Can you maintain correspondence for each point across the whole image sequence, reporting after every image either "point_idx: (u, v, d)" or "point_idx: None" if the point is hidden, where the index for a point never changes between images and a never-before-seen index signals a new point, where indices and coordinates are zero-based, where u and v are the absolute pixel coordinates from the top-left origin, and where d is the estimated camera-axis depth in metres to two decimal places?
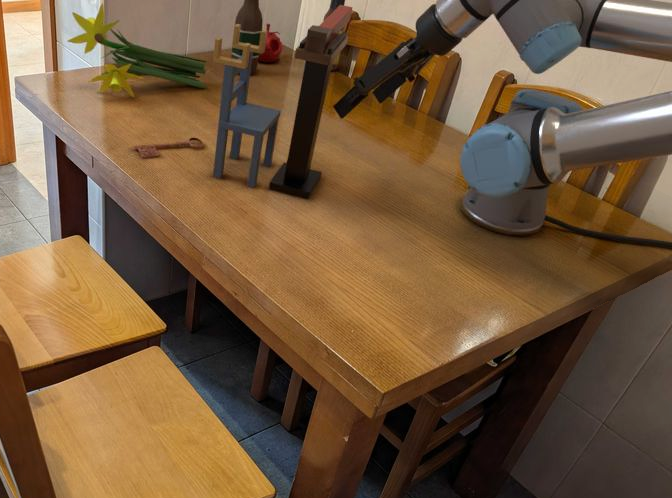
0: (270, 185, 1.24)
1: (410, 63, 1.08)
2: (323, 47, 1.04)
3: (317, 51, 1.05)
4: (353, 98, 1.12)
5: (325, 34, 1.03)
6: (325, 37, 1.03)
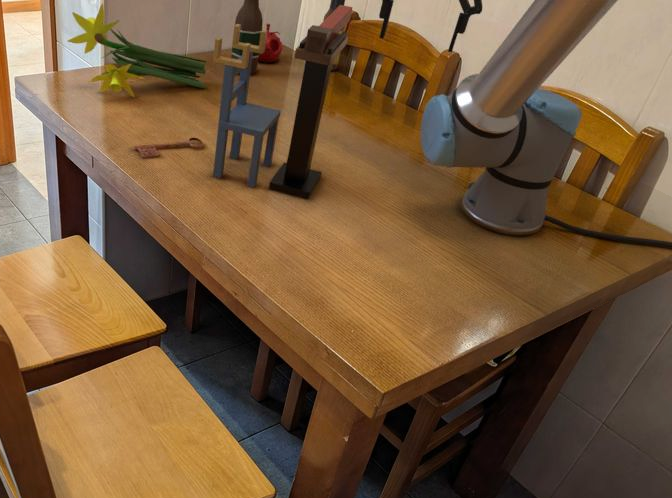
0: (270, 185, 1.24)
1: None
2: (323, 47, 1.04)
3: (317, 51, 1.05)
4: None
5: (325, 34, 1.03)
6: (325, 37, 1.03)
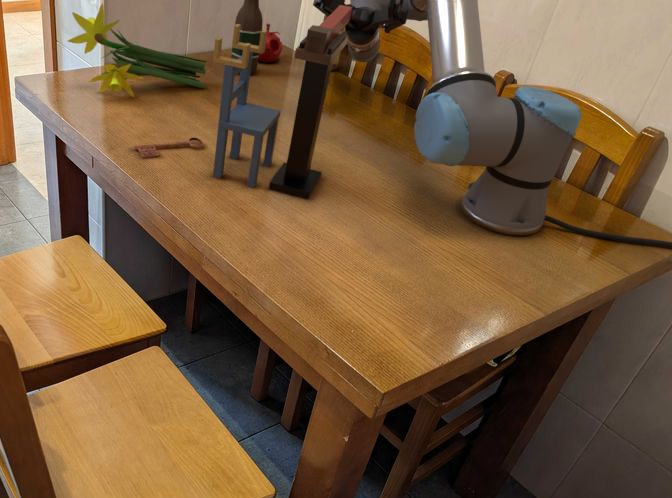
0: (270, 185, 1.24)
1: None
2: (323, 47, 1.04)
3: (317, 51, 1.05)
4: None
5: (325, 34, 1.03)
6: (325, 37, 1.03)
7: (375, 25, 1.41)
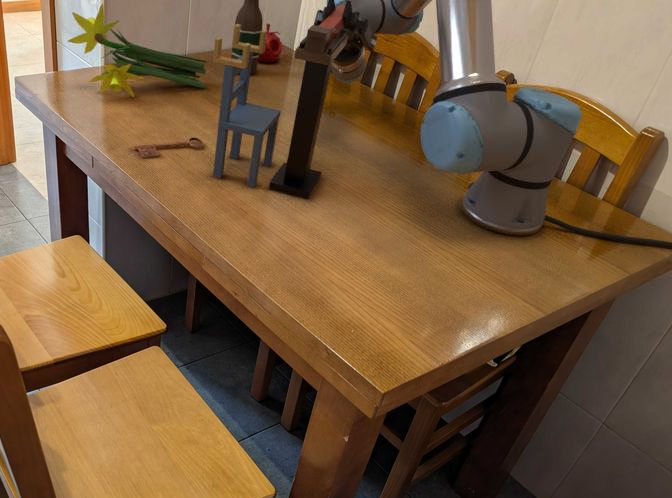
0: (270, 185, 1.24)
1: None
2: (323, 47, 1.04)
3: (317, 51, 1.05)
4: None
5: (325, 34, 1.03)
6: (325, 37, 1.03)
7: (349, 42, 1.26)
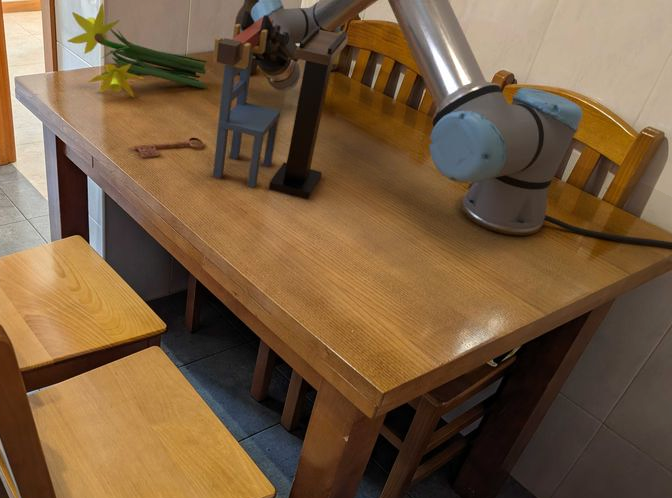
0: (270, 185, 1.24)
1: None
2: (233, 59, 1.10)
3: (228, 63, 1.10)
4: None
5: (234, 47, 1.08)
6: (235, 50, 1.09)
7: (274, 53, 1.32)
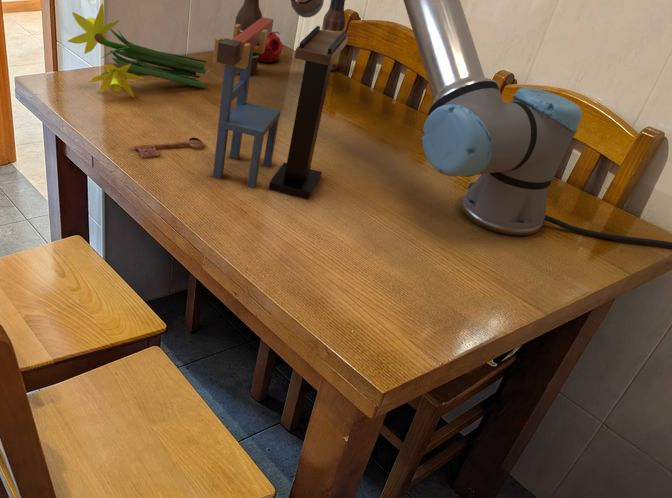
0: (270, 185, 1.24)
1: None
2: (233, 59, 1.10)
3: (228, 63, 1.10)
4: None
5: (234, 47, 1.08)
6: (235, 50, 1.09)
7: None
